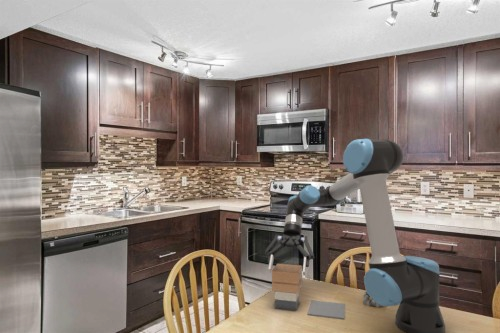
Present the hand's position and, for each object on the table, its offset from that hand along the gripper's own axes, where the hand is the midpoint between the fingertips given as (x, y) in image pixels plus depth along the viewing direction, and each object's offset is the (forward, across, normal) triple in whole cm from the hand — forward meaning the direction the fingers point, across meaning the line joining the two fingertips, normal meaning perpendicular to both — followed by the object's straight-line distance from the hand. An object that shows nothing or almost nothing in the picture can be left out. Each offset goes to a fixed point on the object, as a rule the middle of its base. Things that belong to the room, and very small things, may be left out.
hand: (286, 272), depth 138 cm
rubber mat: (+10, -16, -7) cm, 20 cm away
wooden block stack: (+5, -1, -2) cm, 6 cm away
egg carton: (+1, -33, -16) cm, 37 cm away
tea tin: (+10, -1, -7) cm, 12 cm away
